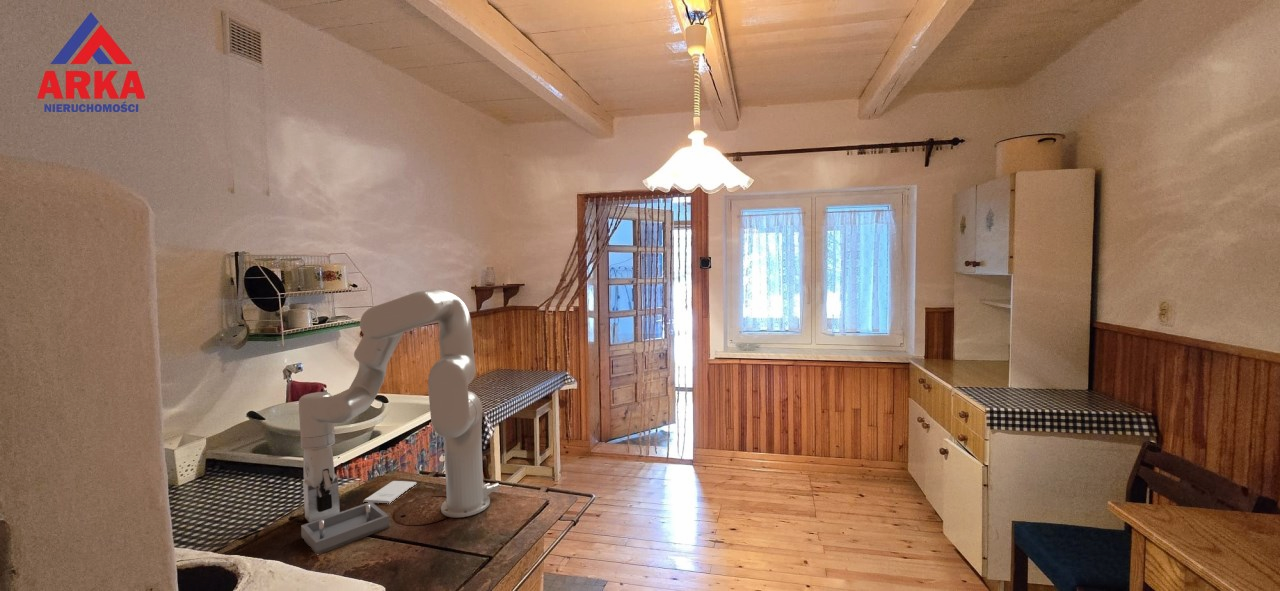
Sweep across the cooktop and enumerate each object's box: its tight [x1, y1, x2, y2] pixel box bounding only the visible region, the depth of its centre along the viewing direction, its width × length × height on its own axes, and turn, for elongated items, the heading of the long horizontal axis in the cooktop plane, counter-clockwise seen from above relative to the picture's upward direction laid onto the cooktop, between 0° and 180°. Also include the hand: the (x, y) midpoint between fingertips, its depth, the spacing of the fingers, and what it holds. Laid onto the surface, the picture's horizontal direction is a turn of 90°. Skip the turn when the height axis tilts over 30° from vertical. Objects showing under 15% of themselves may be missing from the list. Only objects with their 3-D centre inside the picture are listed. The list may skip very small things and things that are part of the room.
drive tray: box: [300, 502, 391, 556], centre depth 124 cm, size 16×12×5 cm
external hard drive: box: [362, 480, 418, 505], centre depth 145 cm, size 2×8×12 cm
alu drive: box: [302, 473, 341, 523], centre depth 133 cm, size 7×4×10 cm, turn 138°
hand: (322, 506), depth 133 cm, fingers closed on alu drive, 4 cm apart
